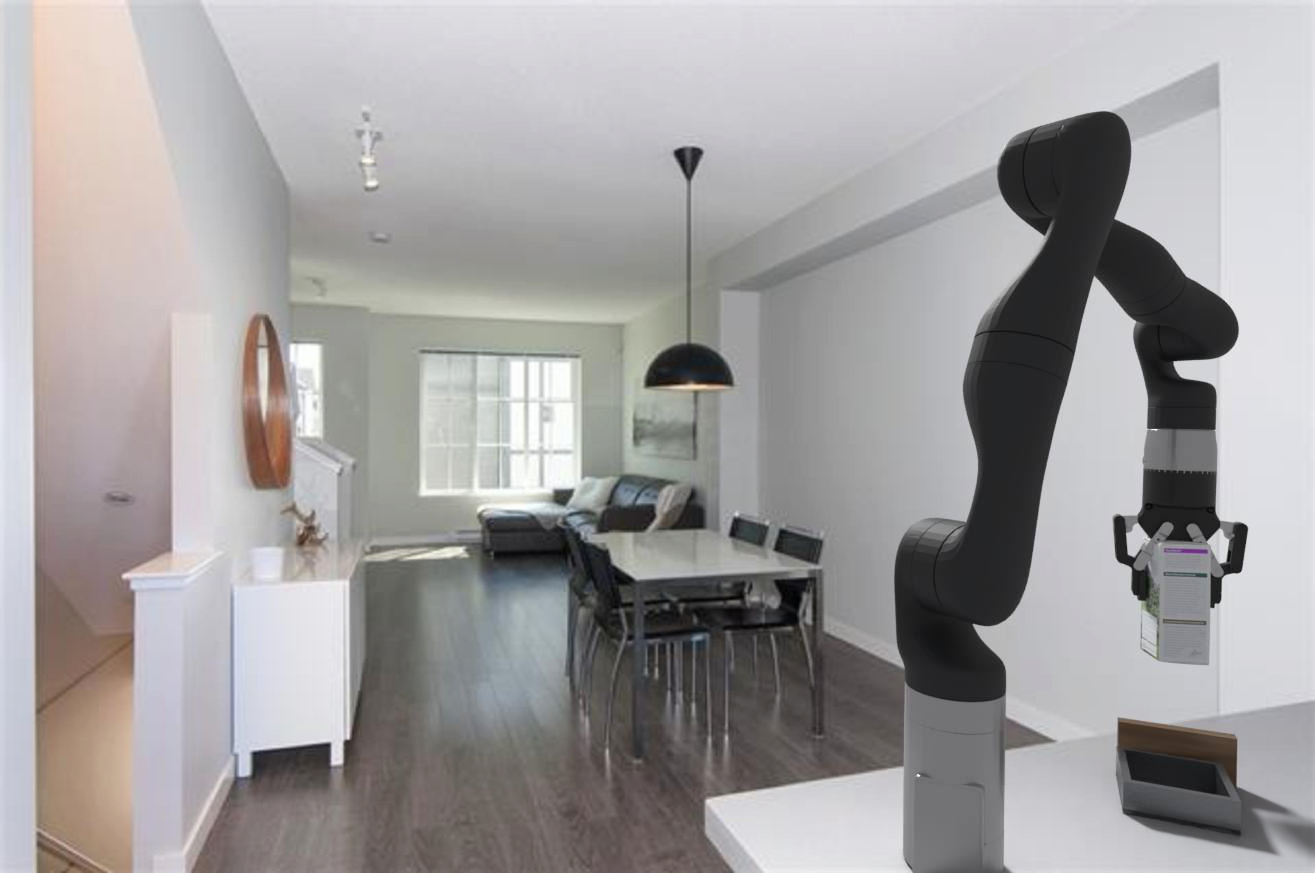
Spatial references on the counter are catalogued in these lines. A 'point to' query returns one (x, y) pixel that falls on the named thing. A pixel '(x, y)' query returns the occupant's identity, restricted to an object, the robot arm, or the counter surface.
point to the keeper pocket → (1177, 790)
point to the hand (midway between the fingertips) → (1174, 602)
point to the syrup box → (1177, 603)
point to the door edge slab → (1180, 742)
